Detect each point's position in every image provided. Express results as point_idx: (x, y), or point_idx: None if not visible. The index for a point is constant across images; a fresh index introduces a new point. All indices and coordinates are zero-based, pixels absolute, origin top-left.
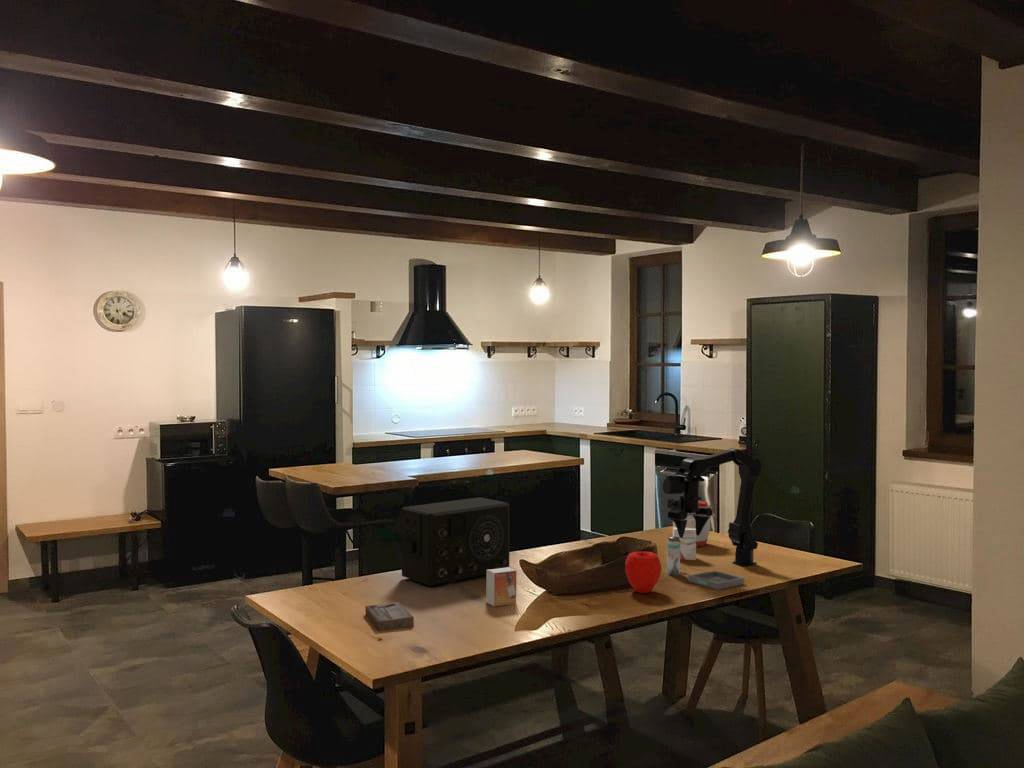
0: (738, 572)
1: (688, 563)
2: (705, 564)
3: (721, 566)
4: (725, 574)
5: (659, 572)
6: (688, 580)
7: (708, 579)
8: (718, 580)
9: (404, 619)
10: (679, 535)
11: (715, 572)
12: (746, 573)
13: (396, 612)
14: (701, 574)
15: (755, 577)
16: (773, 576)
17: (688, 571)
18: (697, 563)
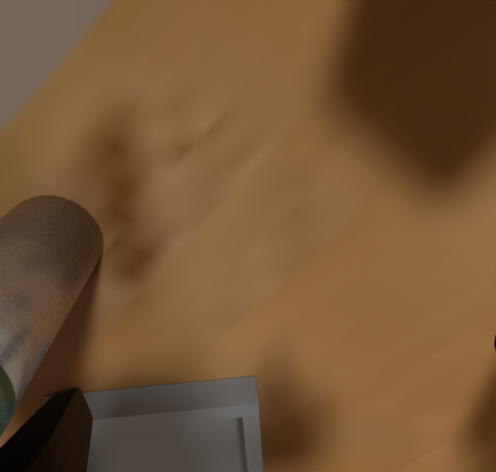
0: (430, 369)
1: (392, 29)
2: (464, 135)
3: (490, 234)
4: (247, 467)
5: None
6: (42, 402)
7: (152, 434)
8: (186, 459)
9: None
10: (33, 425)
11: (242, 416)
12: (441, 396)
13: None
14: (129, 425)
15: (404, 453)
16: (480, 466)
17: (200, 232)
18: (448, 74)
